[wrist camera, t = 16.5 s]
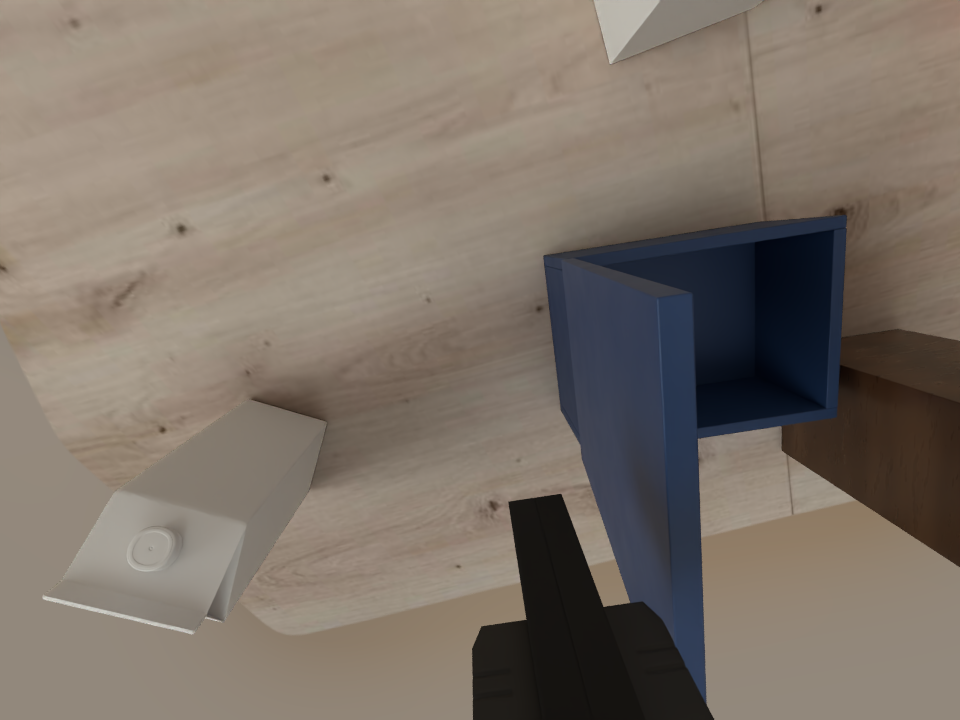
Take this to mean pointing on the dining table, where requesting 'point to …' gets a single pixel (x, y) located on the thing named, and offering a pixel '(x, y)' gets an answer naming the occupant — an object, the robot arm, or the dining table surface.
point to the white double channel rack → (658, 21)
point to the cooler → (738, 317)
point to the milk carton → (196, 521)
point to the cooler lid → (642, 438)
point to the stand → (894, 433)
